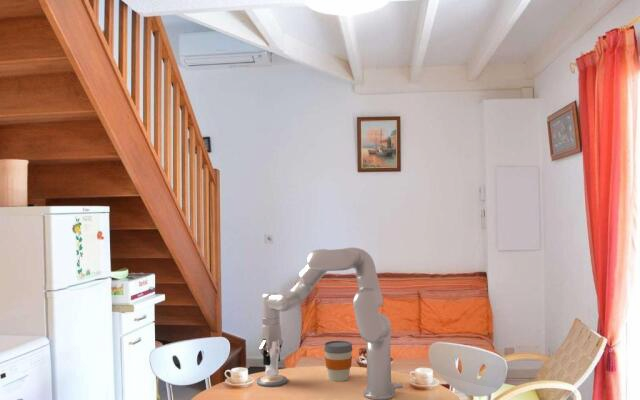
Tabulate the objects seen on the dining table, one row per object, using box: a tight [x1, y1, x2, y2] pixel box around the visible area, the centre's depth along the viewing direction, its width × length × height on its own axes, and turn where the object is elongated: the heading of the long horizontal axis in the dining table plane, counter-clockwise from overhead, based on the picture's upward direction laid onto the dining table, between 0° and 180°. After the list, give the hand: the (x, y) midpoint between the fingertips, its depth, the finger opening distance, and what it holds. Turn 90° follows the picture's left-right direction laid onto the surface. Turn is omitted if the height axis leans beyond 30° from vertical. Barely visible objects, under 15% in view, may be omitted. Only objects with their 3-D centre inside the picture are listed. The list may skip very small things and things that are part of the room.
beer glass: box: [264, 339, 281, 377], centre depth 216 cm, size 7×7×15 cm
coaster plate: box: [256, 374, 288, 388], centre depth 215 cm, size 13×13×2 cm
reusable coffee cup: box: [323, 340, 353, 382], centre depth 219 cm, size 13×13×15 cm
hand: (271, 362), depth 215 cm, fingers closed on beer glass, 6 cm apart
